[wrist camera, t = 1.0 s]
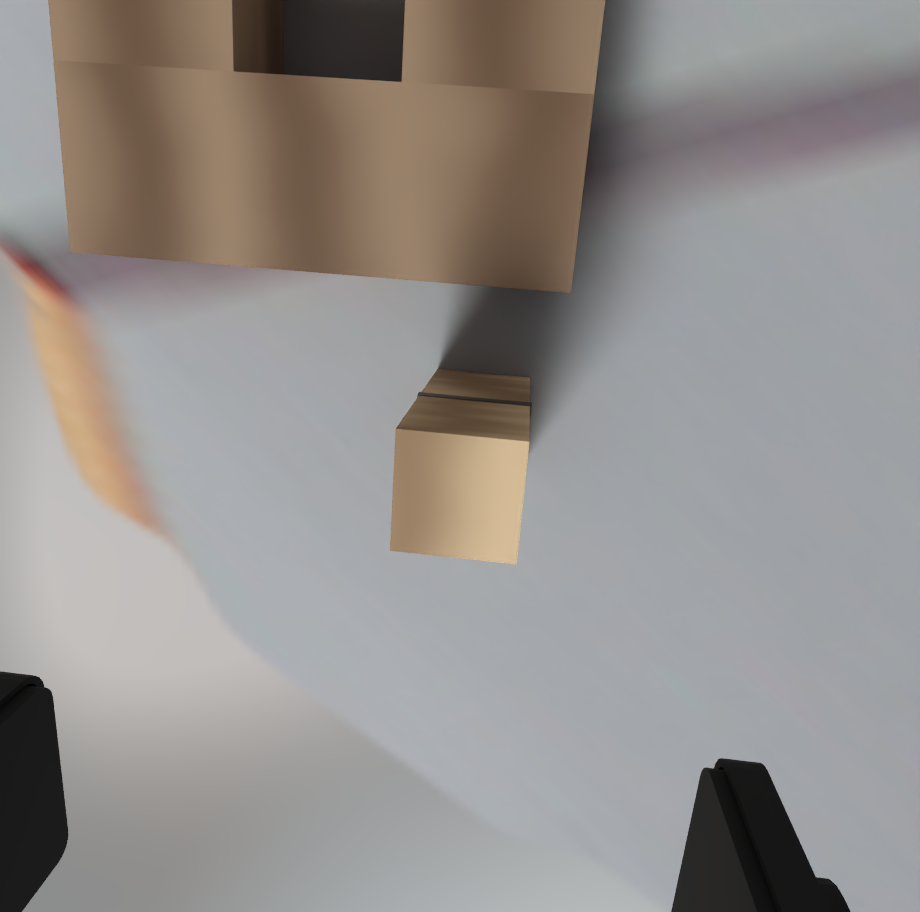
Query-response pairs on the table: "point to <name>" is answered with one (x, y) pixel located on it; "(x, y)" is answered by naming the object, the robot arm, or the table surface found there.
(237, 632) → the table surface
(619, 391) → the table surface
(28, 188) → the table surface
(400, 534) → the peg
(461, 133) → the board
